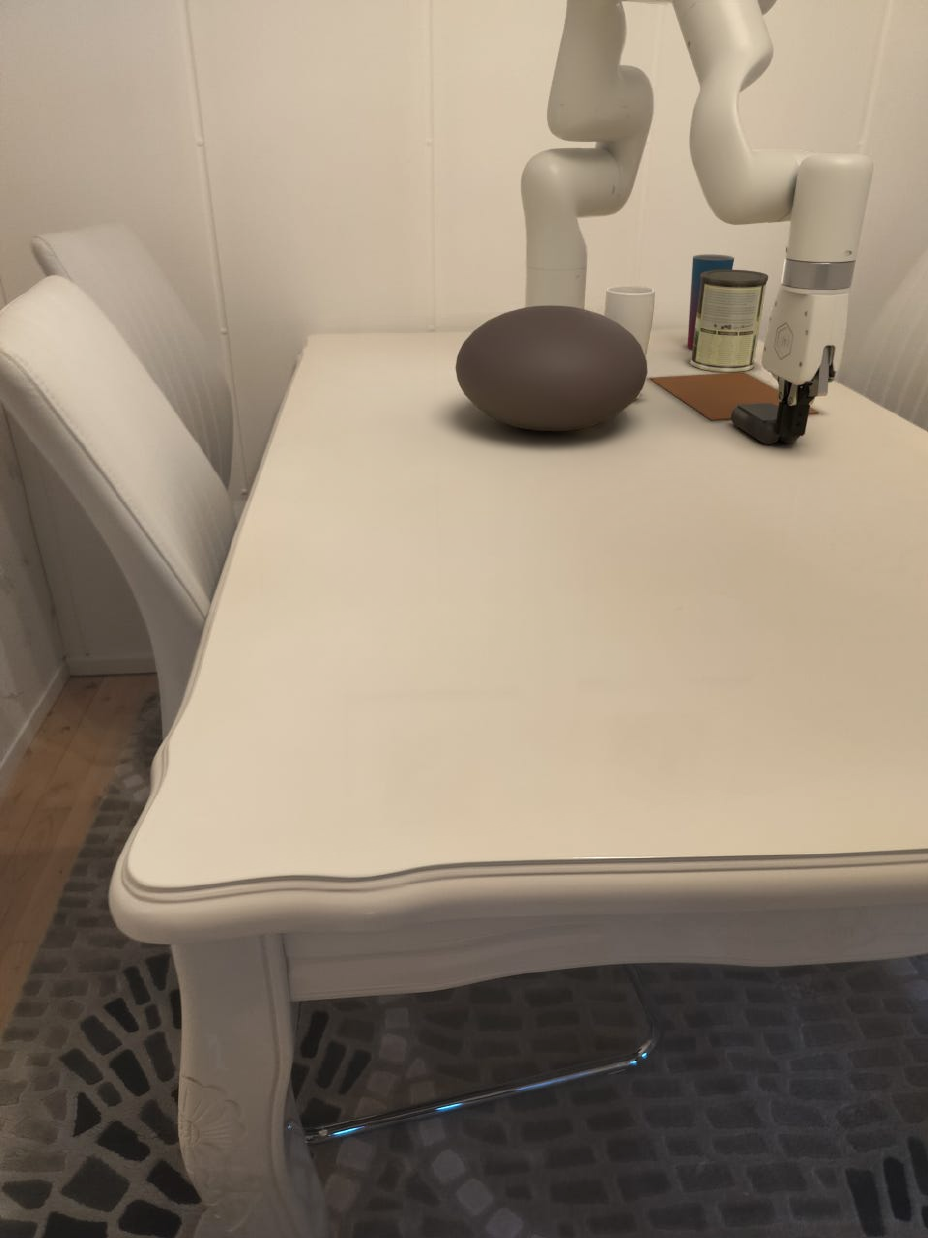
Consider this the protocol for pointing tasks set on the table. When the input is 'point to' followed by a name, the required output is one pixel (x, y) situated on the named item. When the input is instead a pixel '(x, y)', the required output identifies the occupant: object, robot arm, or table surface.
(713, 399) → the mouse pad
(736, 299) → the coffee can
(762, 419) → the mouse
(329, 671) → the table surface
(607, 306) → the drinking glass
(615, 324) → the flattened ellipsoid
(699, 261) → the cup
